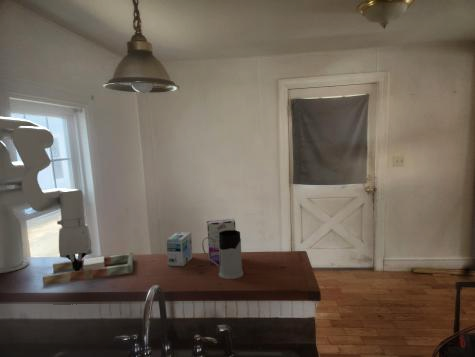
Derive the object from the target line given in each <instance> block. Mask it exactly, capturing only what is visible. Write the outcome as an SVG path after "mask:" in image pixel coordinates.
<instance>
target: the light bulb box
mask: <svg viewBox="0 0 475 357" xmlns="http://www.w3.org/2000/svg"><path fill="white" fill-rule="evenodd" d="M192 238H193V237H192V232H186V231H185V232H181V231H180V232H179V231H178V232H177V231H176V232H175V233H173V234H172V235H171V236H169V237H168V238H166V247H167V248H166V249H167V250H166V251H167V266H170V267H171V266H173V267H185V265H186V264H188V262H190V261H191V260H192V259H193V241H192Z"/></svg>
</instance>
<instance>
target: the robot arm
mask: <svg viewBox="0 0 475 357" xmlns="http://www.w3.org/2000/svg"><path fill="white" fill-rule="evenodd" d="M2 140H11V142H12V143H13V144H12V145H13V146H14V149H15V150H16V152H17V154H18V156H19V157H20V160H21V161H12V160H11V153H10V150H9V148H8V146H7V145H6V144H5V143H4V142H3V141H2ZM54 141H55V140H54V136H53V133H52V131H50V130H49V129H48V128H46V127H44V126H42V125H40V124H38V123H35V122H33V121H30V120H28V119H24V118H23V119H22V118H15V117H5V116H0V187H7V186H10V187H11V186H14V188H6V189H5V188H4V189H0V274H5V273H10V272H15V271H18V270H22V269H24V268H26V267H28V266H29V264H30V261H29V260H28V259H27V258H26V259H25V254H24V245H23V244H24V243H23V235H22V228H21V227H22V226H21V224H22V223H21V221H20V219H19V218H18V217H17V215H16V214H14V213H15V212H19V211H24V210H29V209H31V208H32V210H33V211H35V212H39V213H44V212H49V211H54V210H57V209H60V217H61V219H60V220H57V221H56V224H57V225H60V226H61V227H60V228H59V230H58V252H59V258H64V259H65V258H66V259H67V260H69V261H71V262H72V267H73V271H80V270H82V269H83V268H82V260H83V259H85V258H84V257H86V256H88V255H89V256H90V255H91V254H92V253H93V249H92V240H91V234H90V229H89V227H88V224H87V223H86V220H85V206H84V193H83V191H82V189H79V188H65V187H58V188H57V187H56V188H51V189H45V190H42V188H41V187H40V184H39V181H38V175H39V173H40V172H41V171H44V170H45V169H46V168H48V167H49V166H50V165H51V163H52V162H51V159H50V156H49V154H48V153H47V151H46V149H49V148H51V147H52V146H53V145H54ZM76 255H77V257H76Z"/></svg>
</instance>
